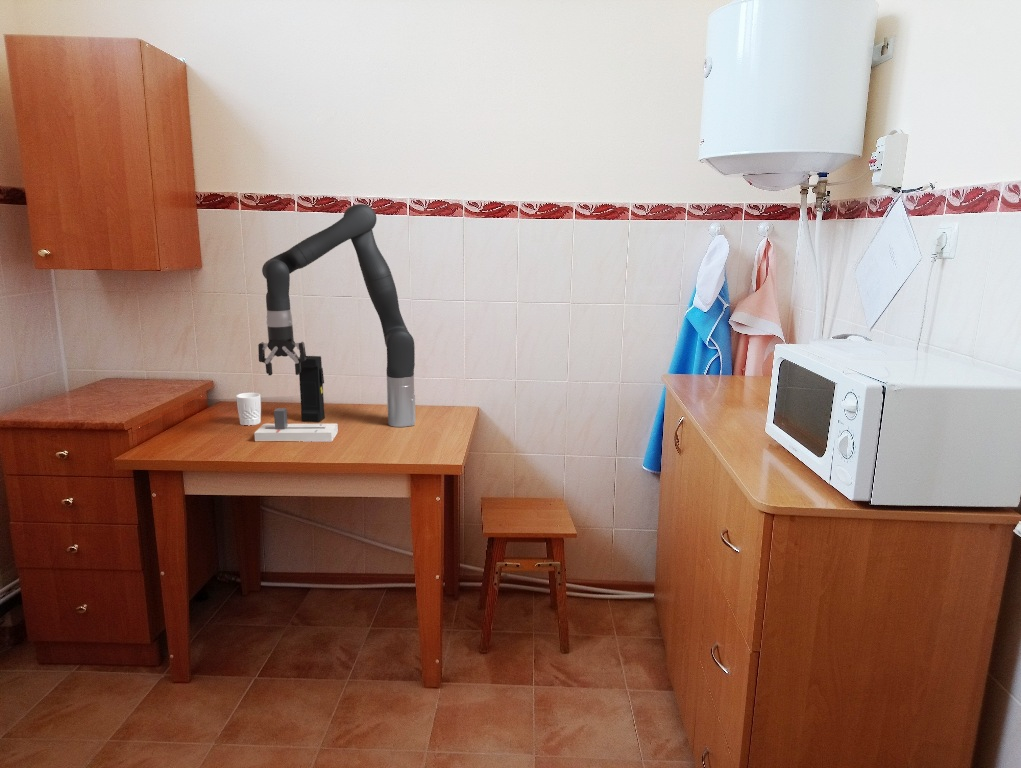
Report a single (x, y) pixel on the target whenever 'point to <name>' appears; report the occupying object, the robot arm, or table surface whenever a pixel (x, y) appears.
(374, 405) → the table surface
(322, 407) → the portable radio
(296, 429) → the panel
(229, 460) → the table surface
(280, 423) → the fader tab
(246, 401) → the white cup
